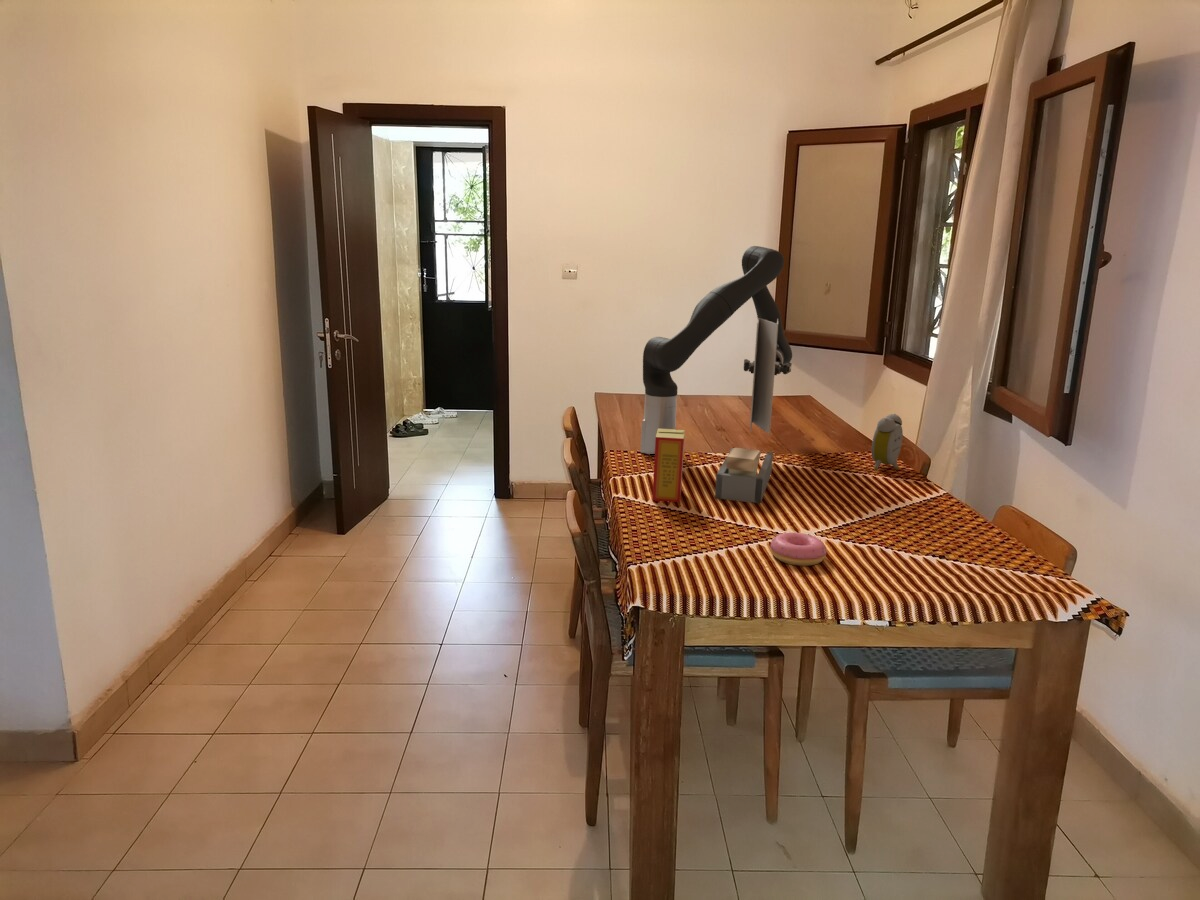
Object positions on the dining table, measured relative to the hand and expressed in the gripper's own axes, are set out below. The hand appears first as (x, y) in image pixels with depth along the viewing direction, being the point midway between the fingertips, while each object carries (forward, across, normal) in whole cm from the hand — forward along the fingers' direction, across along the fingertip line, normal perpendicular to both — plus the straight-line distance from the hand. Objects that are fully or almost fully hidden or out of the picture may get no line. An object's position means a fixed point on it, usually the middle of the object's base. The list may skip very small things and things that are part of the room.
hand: (763, 370), depth 229 cm
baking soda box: (+44, -17, +25) cm, 54 cm away
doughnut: (+73, +16, +25) cm, 79 cm away
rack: (+28, 0, +25) cm, 38 cm away
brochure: (+1, 0, +16) cm, 16 cm away
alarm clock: (-4, +36, +26) cm, 44 cm away
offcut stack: (+34, 0, +25) cm, 43 cm away
